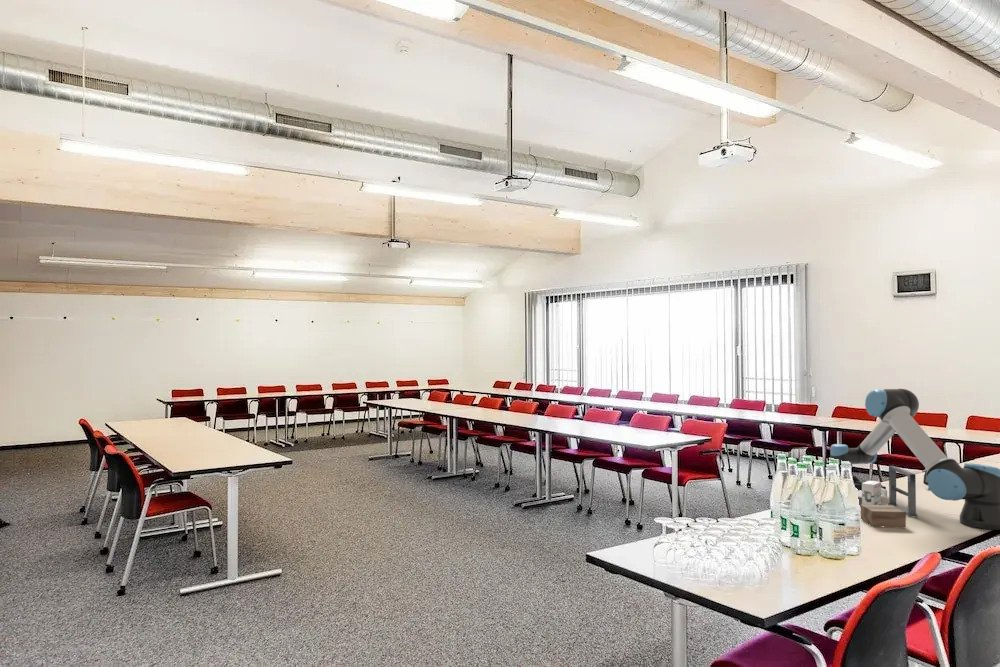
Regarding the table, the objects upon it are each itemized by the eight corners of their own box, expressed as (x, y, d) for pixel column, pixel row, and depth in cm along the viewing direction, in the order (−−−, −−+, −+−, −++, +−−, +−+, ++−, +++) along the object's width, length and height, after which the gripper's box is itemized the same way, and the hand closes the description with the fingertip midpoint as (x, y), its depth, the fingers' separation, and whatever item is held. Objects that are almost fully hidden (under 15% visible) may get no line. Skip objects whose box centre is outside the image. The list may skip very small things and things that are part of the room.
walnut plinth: (905, 527, 242) (905, 512, 242) (872, 526, 244) (872, 511, 244) (892, 520, 252) (892, 505, 252) (860, 519, 254) (860, 504, 254)
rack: (917, 516, 258) (916, 474, 258) (909, 516, 258) (908, 474, 258) (895, 505, 275) (894, 465, 276) (888, 505, 276) (887, 465, 276)
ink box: (869, 507, 273) (868, 479, 273) (881, 509, 269) (881, 481, 269) (861, 510, 267) (861, 482, 267) (874, 513, 263) (874, 484, 264)
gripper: (877, 491, 289) (900, 502, 268) (819, 489, 292) (838, 501, 271) (877, 474, 289) (900, 485, 268) (819, 473, 293) (837, 483, 272)
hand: (869, 493), depth 270 cm, fingers open, 13 cm apart
